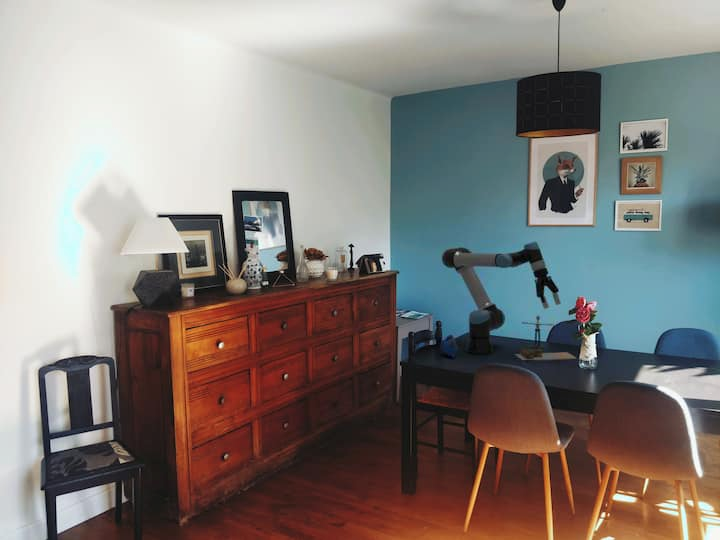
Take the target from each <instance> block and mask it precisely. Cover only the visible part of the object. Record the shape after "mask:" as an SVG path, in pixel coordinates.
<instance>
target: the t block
mask: <svg viewBox="0 0 720 540" xmlns="http://www.w3.org/2000/svg"><path fill="white" fill-rule="evenodd" d="M542 353H543V349H541V348H534V349H532V348H531V349H529V348H528V347H527V348H526V347H524V348H523V347H522V348H520V354H521V355H522V356H524V357H525V358H526V359H534V357H542Z"/></svg>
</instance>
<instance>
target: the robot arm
mask: <svg viewBox="0 0 720 540" xmlns="http://www.w3.org/2000/svg"><path fill="white" fill-rule="evenodd" d="M441 261H442V264H443V265H444V266H445V267H447V268H449V269H454V270H455V271H456V273H457V274H460V276H461V278H462V280H463V281H464V284H465V286H466V287H467V288H466V289H468V292H469V294H470V296H471V298H472V299H473V301H474V304H475V306H476V307H477V309H475V310H472V311H471V312H470V313H469V315H468V316H469V317H468V335H469V336H468V341H467V345H466V347H465V350H466V351H467V353H468V352H470V353H469V354H471V353H474V354H473V355H478V354H484V355H490V354H493V353H494V347H493V345H492V342H491V337H490V336H491V331H495V330H498V329H500V328H501V327H502V326H503V325H504V324H505V322H506V316H505V315H506V314H505V313H504V311H503V310H502V309H500V308H498V307H497V305H496V304H495V303H494V302H492V301H491V299H490V297H489V296H488V294H487V292H486V290H485V288H484V285H483V284H482V281H481V279H480V278H479V276H478V273H477V271H476V270H475V268H474V267H486V268H487V267H489V268H500V269H507V268H516V267H519V266H522V265H524V264H526V263H529V264H530V265H529V266H530V268H531V271H533V272H532V273H533V276H534V278H535V279H534V283H535V291H536V292H535V293H536V297H537V298H539V299H540V301H541V304H542V307H543V309H544V310H546V309H548V308H550V306H549V304H548V300H547V297H546V295H545V287H547V289H548V290H550V291H551V293H552V294H551V295H552V298H553V301H554V303H555V305H556V306H558V305H561V304H562V303H561V300H560V297H559V294H558V292H560V291H559V288H558V286H557V285H556V283H555V281H553V279H552V276H551V275H549V271H548V268H547V266H546V263H545V262H546V261H545V260H544V257H543V254H542V252H541V248H540V246H539V244H538V242H537V241H532V242H531V241H530V242H528V243H526V244H524V245H523V249H520V250H518V251H516V252H510V253H508V252H507V253H485V252H484V253H483V252H482V253H480V252H477V253H476V252H475V253H474V252H472V250H470V249H469V248H467V247H456V248H449V249H447V250H445V251H444V252H443V253H442V256H441ZM548 275H549V276H548ZM466 351H465V352H466ZM489 353H490V354H489Z"/></svg>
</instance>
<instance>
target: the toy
mask: <svg viewBox="0 0 720 540" xmlns="http://www.w3.org/2000/svg"><path fill="white" fill-rule="evenodd" d="M439 348H440V350H441V353H442V354H443V353H444V354H447V355H446V356H449V357H451V358H452V357H453V358H456V354H457V353H458V350H459V347H458V344H457V339H455V338H454V335H453V334H449V335H448V336H446V337H445V339H442V340H441V341H440V345H439ZM444 354H443V355H444ZM453 358H452V359H453Z"/></svg>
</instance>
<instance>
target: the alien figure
mask: <svg viewBox="0 0 720 540" xmlns="http://www.w3.org/2000/svg"><path fill="white" fill-rule="evenodd" d="M535 318H536V322H527V321H526V322H525V321H523V322H521V324H522V325H524V324H525V325H535V328H534V332H535V333H534V344H533V346H534V349H537V347H538V349H541V347H544V345H543V343H541V329H540V327H541V326H552V327H554V326H555V324H553V323H539V321H540V320H541V317H540V315H536V316H535ZM537 336H538V337H537ZM537 342H538V343H537Z"/></svg>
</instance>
